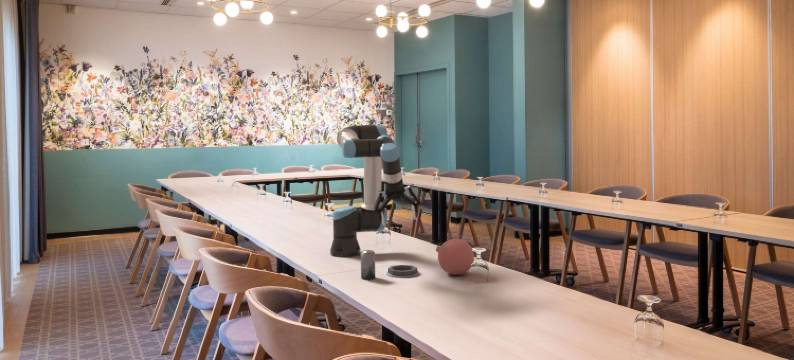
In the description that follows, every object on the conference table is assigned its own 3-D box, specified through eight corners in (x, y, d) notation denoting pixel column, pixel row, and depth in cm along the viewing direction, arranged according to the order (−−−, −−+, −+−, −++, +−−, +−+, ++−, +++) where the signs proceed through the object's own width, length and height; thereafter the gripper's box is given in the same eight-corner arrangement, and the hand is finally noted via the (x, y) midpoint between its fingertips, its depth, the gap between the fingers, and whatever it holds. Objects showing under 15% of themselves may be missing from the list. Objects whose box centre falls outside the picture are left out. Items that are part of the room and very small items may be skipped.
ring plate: (381, 271, 270) (381, 266, 270) (410, 268, 276) (410, 262, 275) (394, 279, 257) (394, 273, 257) (424, 275, 263) (424, 269, 263)
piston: (359, 277, 261) (358, 250, 260) (372, 275, 264) (371, 249, 263) (364, 280, 256) (363, 253, 255) (377, 278, 258) (377, 251, 257)
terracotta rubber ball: (452, 266, 278) (452, 232, 276) (481, 275, 261) (481, 239, 260) (424, 271, 270) (424, 236, 268) (452, 281, 253) (452, 243, 251)
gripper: (364, 189, 251) (371, 231, 262) (424, 178, 253) (429, 220, 264) (362, 180, 257) (369, 221, 268) (420, 169, 259) (425, 210, 270)
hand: (399, 221), depth 266 cm, fingers open, 13 cm apart
